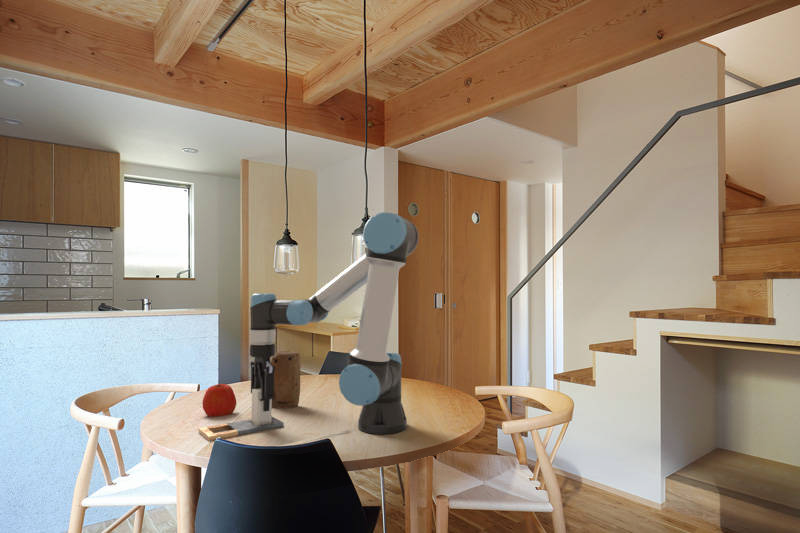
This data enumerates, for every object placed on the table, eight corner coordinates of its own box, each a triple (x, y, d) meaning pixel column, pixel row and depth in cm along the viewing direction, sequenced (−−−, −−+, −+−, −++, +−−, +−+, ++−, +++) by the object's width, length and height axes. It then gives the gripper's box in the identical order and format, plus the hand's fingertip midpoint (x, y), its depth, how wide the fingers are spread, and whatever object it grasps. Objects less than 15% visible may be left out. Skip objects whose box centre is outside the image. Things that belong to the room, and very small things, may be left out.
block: (301, 405, 173) (302, 350, 174) (296, 410, 165) (296, 353, 166) (272, 404, 173) (273, 350, 174) (265, 409, 166) (266, 353, 167)
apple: (202, 412, 162) (203, 381, 163) (235, 409, 166) (236, 379, 166) (201, 420, 152) (202, 387, 153) (236, 417, 156) (237, 385, 156)
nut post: (271, 426, 143) (271, 389, 144) (257, 428, 140) (257, 391, 141) (265, 422, 147) (266, 387, 147) (251, 425, 144) (252, 389, 144)
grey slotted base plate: (283, 429, 143) (283, 422, 143) (208, 444, 129) (209, 436, 129) (270, 422, 150) (270, 415, 151) (198, 435, 137) (198, 428, 137)
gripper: (286, 344, 140) (285, 423, 139) (263, 340, 154) (261, 411, 153) (262, 346, 136) (260, 428, 134) (240, 341, 149) (239, 415, 148)
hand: (261, 419), depth 144 cm, fingers closed on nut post, 4 cm apart
